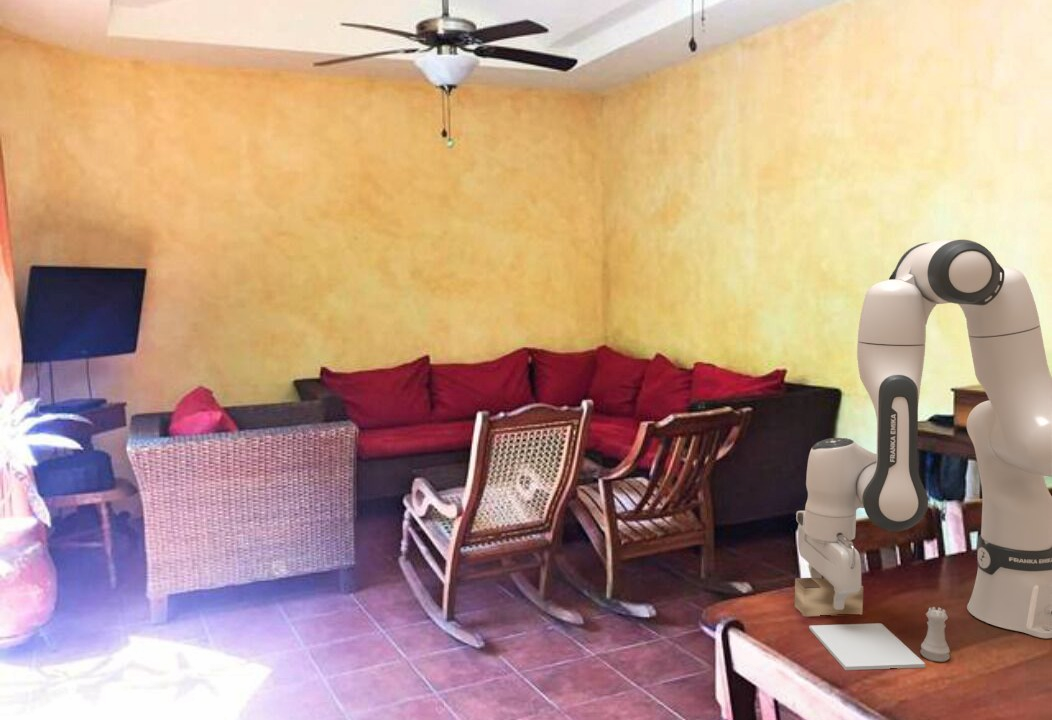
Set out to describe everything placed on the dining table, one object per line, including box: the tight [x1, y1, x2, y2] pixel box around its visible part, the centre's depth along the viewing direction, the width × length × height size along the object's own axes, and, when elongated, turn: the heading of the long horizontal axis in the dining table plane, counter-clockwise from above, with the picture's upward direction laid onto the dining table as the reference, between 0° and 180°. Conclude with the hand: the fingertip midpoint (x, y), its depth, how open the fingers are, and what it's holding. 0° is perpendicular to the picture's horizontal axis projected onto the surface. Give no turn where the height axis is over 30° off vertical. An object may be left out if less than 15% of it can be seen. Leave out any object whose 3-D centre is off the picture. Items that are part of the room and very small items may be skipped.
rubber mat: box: [808, 622, 926, 671], centre depth 139 cm, size 13×15×1 cm
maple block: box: [794, 577, 864, 617], centre depth 153 cm, size 11×4×6 cm, turn 93°
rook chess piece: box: [919, 606, 951, 663], centre depth 135 cm, size 4×4×8 cm
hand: (826, 597), depth 153 cm, fingers open, 8 cm apart
